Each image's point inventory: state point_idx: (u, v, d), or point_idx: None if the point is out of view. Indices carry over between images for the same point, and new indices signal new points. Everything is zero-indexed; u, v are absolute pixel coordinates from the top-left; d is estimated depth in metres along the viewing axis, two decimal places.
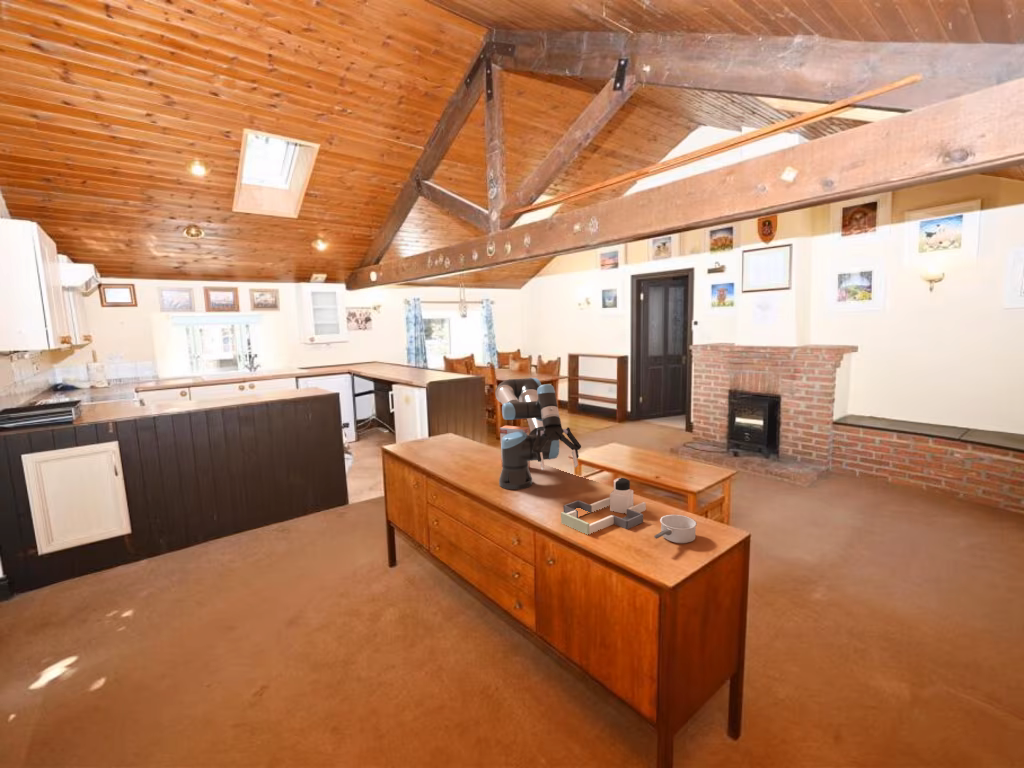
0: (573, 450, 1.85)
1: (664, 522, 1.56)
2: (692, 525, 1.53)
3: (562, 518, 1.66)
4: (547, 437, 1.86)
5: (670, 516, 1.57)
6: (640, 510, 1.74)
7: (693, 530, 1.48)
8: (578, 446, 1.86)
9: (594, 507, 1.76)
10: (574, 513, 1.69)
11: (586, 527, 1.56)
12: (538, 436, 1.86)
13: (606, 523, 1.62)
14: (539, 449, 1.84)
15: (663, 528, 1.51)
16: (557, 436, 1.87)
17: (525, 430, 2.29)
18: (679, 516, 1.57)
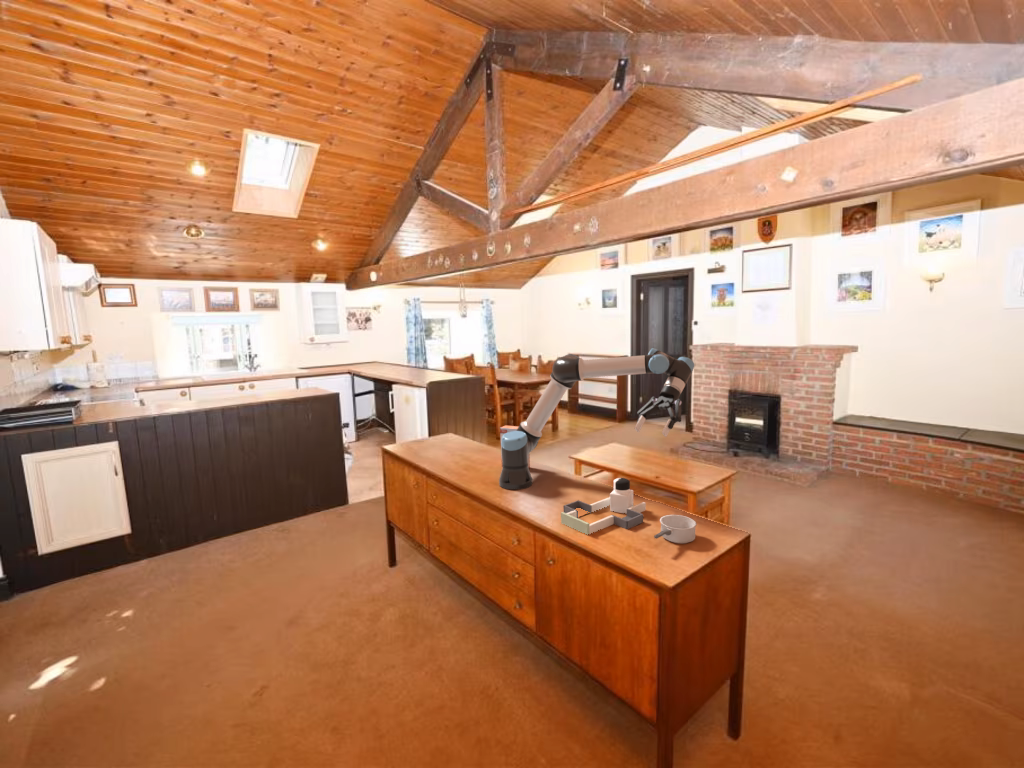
0: (645, 419, 1.92)
1: (664, 522, 1.56)
2: (692, 525, 1.53)
3: (562, 518, 1.66)
4: None
5: (670, 516, 1.57)
6: (640, 510, 1.74)
7: (693, 530, 1.48)
8: None
9: (594, 507, 1.76)
10: (574, 513, 1.69)
11: (586, 527, 1.56)
12: None
13: (606, 523, 1.62)
14: None
15: (663, 528, 1.51)
16: None
17: None
18: (679, 516, 1.57)
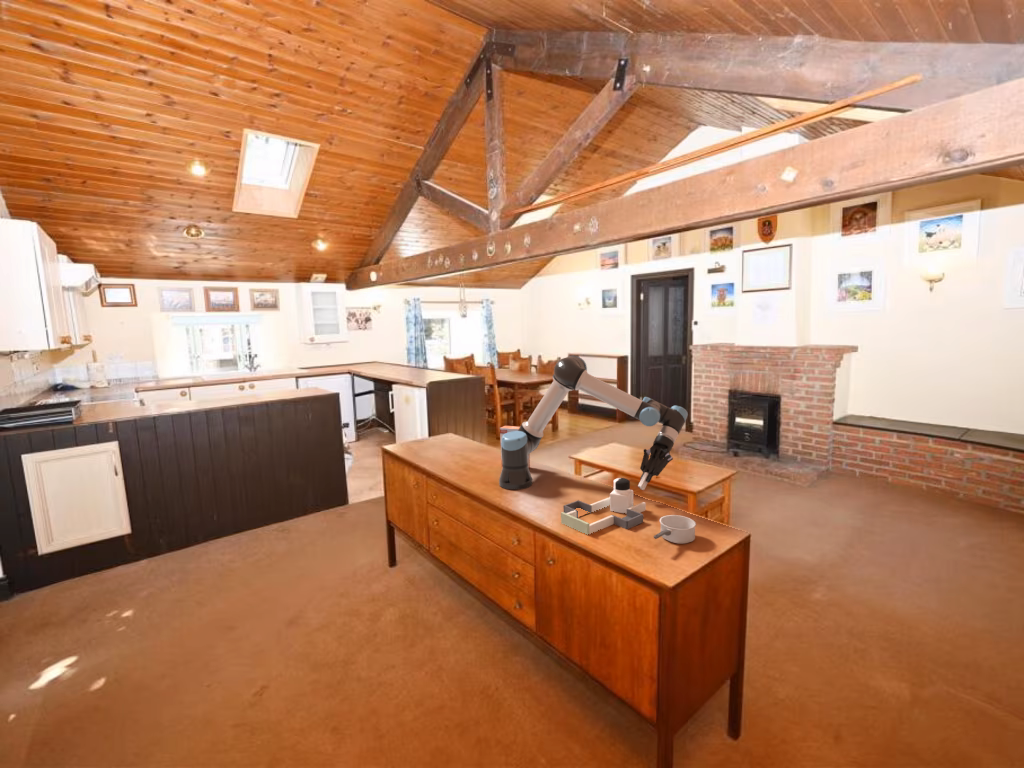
0: None
1: (663, 522, 1.56)
2: (691, 525, 1.53)
3: (562, 518, 1.66)
4: None
5: (670, 516, 1.57)
6: (640, 510, 1.74)
7: (692, 530, 1.48)
8: None
9: (594, 507, 1.76)
10: (574, 513, 1.69)
11: (586, 527, 1.56)
12: None
13: (606, 523, 1.62)
14: None
15: (662, 528, 1.51)
16: None
17: None
18: (679, 516, 1.56)
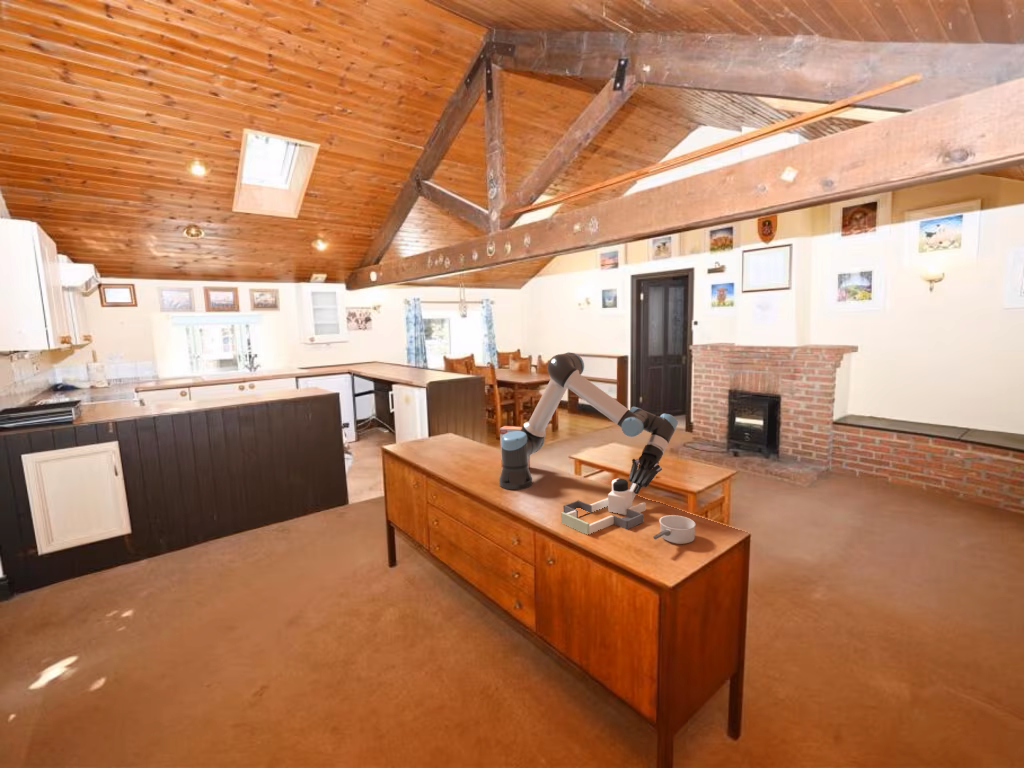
0: None
1: (663, 523, 1.56)
2: (691, 525, 1.53)
3: (562, 518, 1.66)
4: None
5: (669, 517, 1.57)
6: (640, 510, 1.74)
7: (692, 531, 1.48)
8: None
9: (594, 507, 1.76)
10: (574, 513, 1.69)
11: (586, 527, 1.56)
12: None
13: (606, 523, 1.62)
14: None
15: (662, 529, 1.51)
16: None
17: None
18: (678, 517, 1.56)
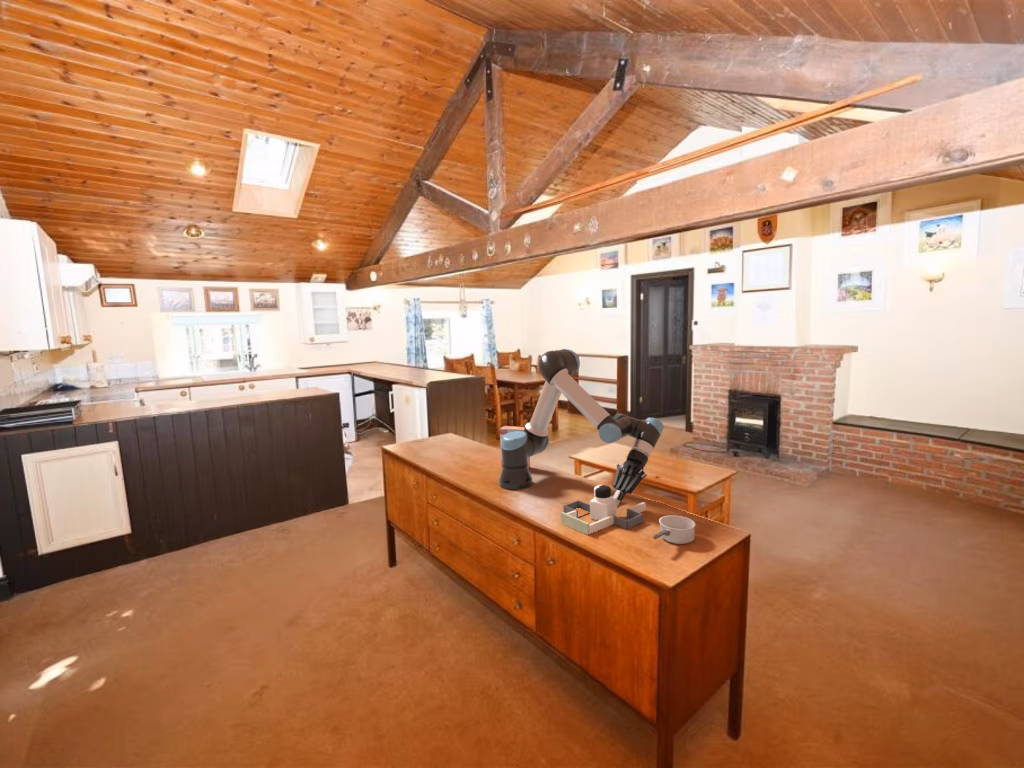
0: None
1: (663, 523, 1.56)
2: (691, 525, 1.53)
3: (562, 518, 1.66)
4: None
5: (669, 517, 1.57)
6: (640, 510, 1.74)
7: (692, 531, 1.48)
8: None
9: None
10: (574, 513, 1.69)
11: (586, 527, 1.56)
12: None
13: (606, 523, 1.62)
14: None
15: (662, 529, 1.51)
16: None
17: None
18: (678, 517, 1.56)
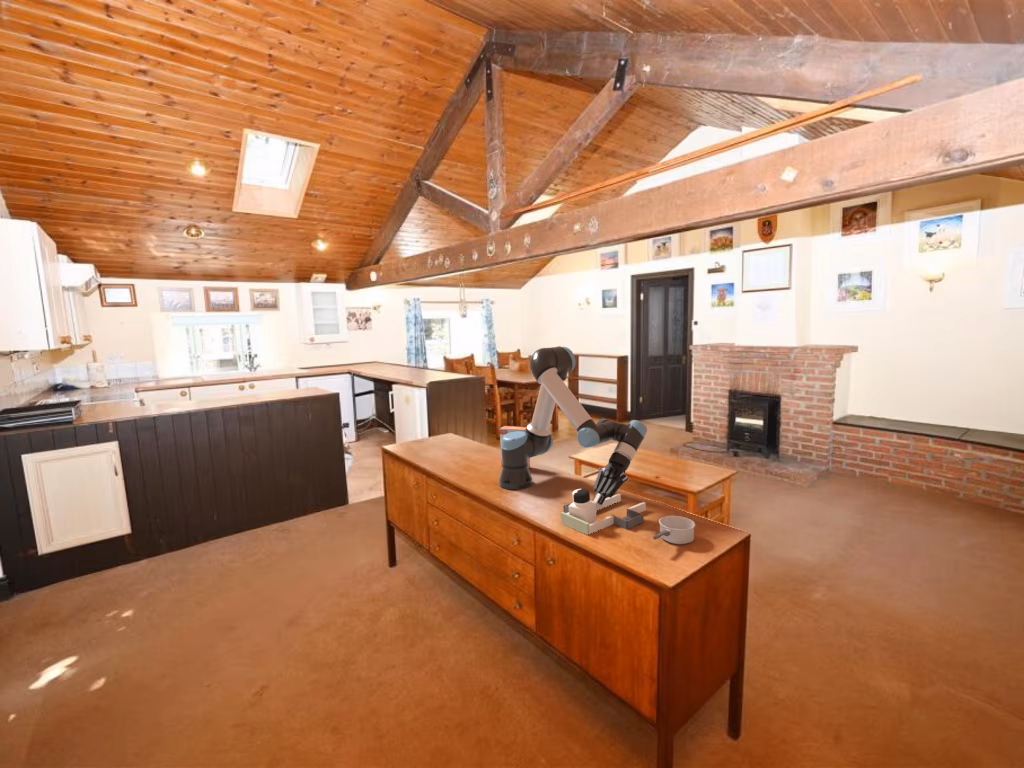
0: None
1: (663, 523, 1.56)
2: (691, 526, 1.53)
3: (562, 518, 1.66)
4: None
5: (669, 517, 1.56)
6: (640, 510, 1.74)
7: (692, 531, 1.47)
8: None
9: None
10: None
11: (586, 527, 1.56)
12: None
13: (606, 523, 1.62)
14: None
15: (662, 529, 1.50)
16: None
17: None
18: (678, 517, 1.56)
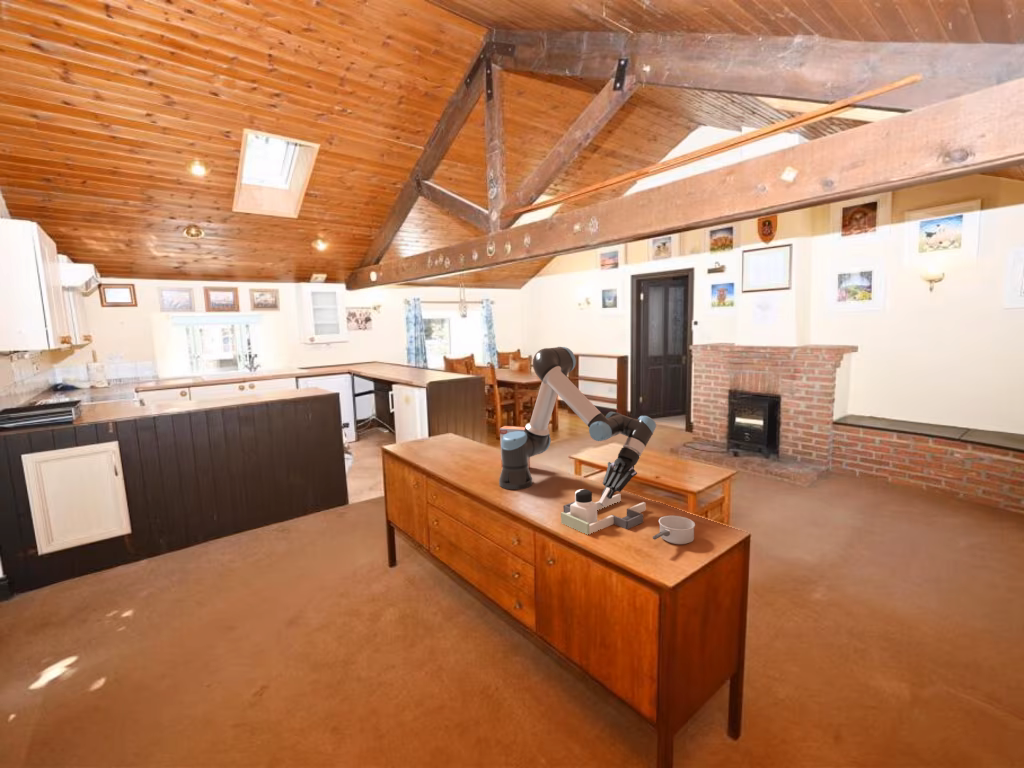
0: None
1: (663, 523, 1.56)
2: (691, 526, 1.53)
3: (562, 518, 1.66)
4: None
5: (669, 517, 1.56)
6: (640, 510, 1.74)
7: (691, 531, 1.47)
8: None
9: None
10: None
11: (586, 527, 1.56)
12: None
13: (606, 523, 1.62)
14: None
15: (661, 529, 1.50)
16: None
17: None
18: (678, 517, 1.56)
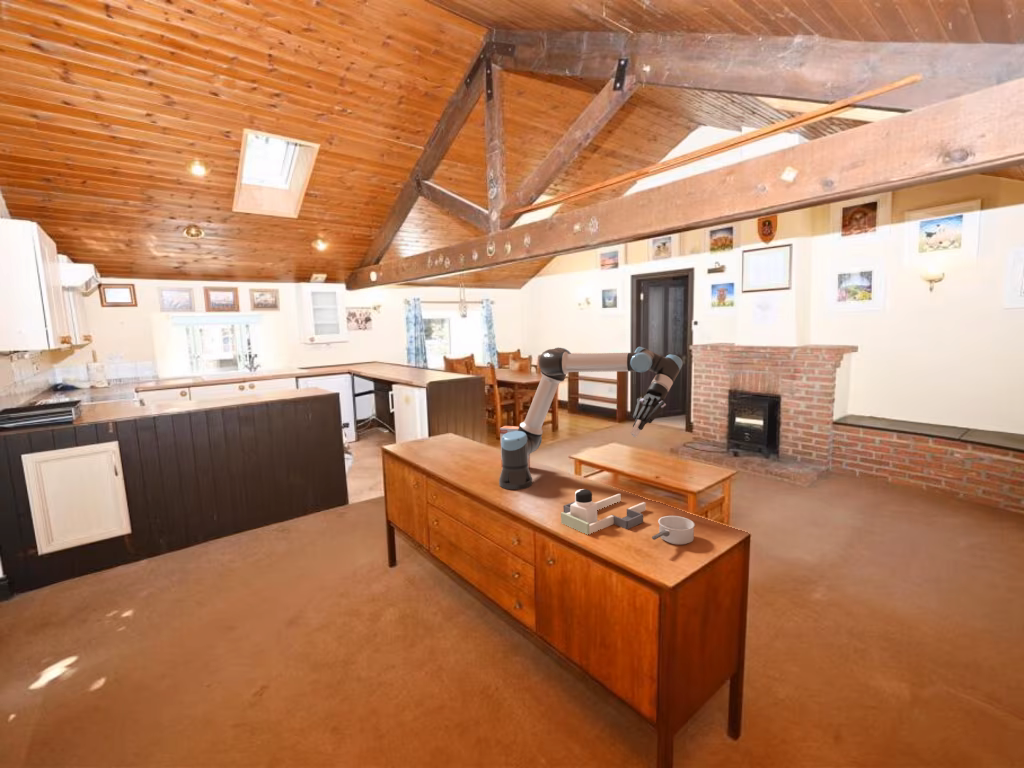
0: None
1: (662, 523, 1.55)
2: (690, 526, 1.52)
3: (562, 518, 1.66)
4: None
5: (668, 517, 1.56)
6: (640, 510, 1.74)
7: (691, 531, 1.47)
8: None
9: None
10: None
11: (586, 527, 1.56)
12: None
13: (606, 523, 1.62)
14: None
15: (661, 529, 1.50)
16: None
17: None
18: (677, 517, 1.56)
